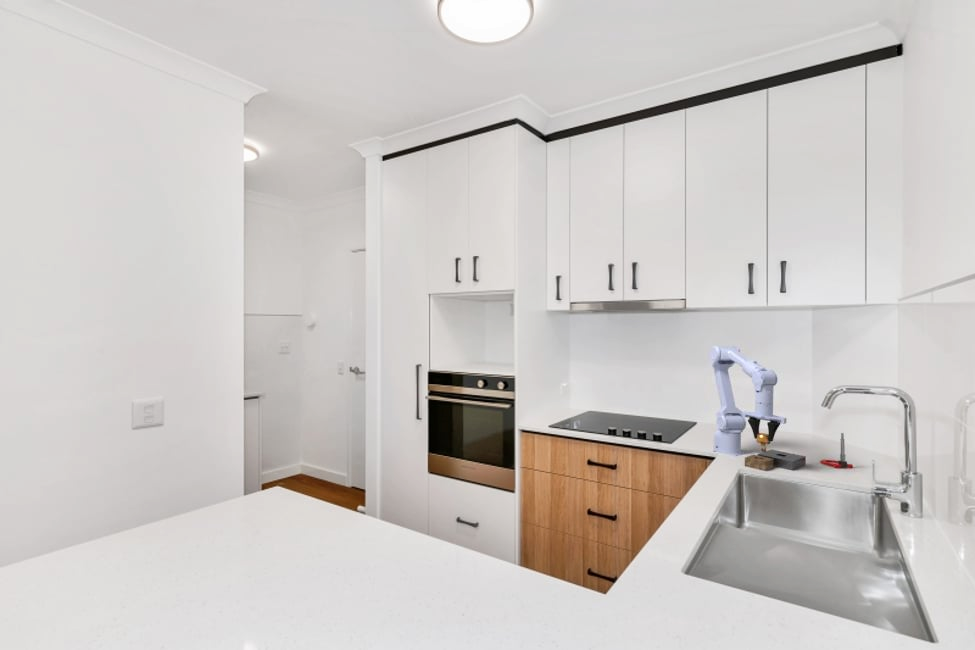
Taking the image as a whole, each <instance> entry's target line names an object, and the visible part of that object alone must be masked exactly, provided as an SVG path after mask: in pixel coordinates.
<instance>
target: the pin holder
mask: <svg viewBox="0 0 975 650" xmlns="http://www.w3.org/2000/svg"><path fill="white" fill-rule="evenodd" d="M773 460H774V459H772V458H767V457H763V456H758V455H757V454H751V455H748V456H746V457H745V456H744V467H746V468H750V469H755V470H758V471H763V472H766V471H768V470H771V469H774V466H773Z"/></svg>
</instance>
